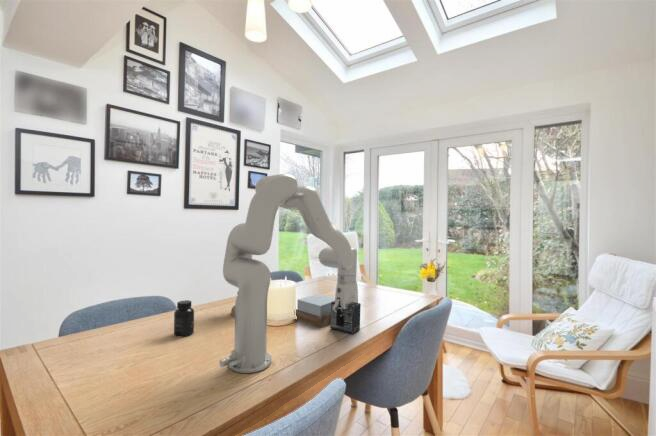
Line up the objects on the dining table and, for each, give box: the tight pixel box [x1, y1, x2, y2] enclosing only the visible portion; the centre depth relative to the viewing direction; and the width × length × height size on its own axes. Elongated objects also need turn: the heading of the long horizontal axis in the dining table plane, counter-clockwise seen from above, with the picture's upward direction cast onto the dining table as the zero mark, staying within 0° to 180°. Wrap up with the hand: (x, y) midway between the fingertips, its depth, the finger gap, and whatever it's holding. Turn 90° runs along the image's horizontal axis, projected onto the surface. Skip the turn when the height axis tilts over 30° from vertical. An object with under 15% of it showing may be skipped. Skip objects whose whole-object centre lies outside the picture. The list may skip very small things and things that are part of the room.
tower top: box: [296, 293, 335, 317], centre depth 135 cm, size 13×13×4 cm
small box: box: [329, 301, 362, 334], centre depth 124 cm, size 11×6×10 cm, turn 57°
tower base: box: [295, 309, 331, 328], centre depth 136 cm, size 15×15×4 cm
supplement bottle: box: [173, 300, 195, 338], centre depth 116 cm, size 7×7×12 cm
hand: (345, 322), depth 124 cm, fingers closed on small box, 6 cm apart
